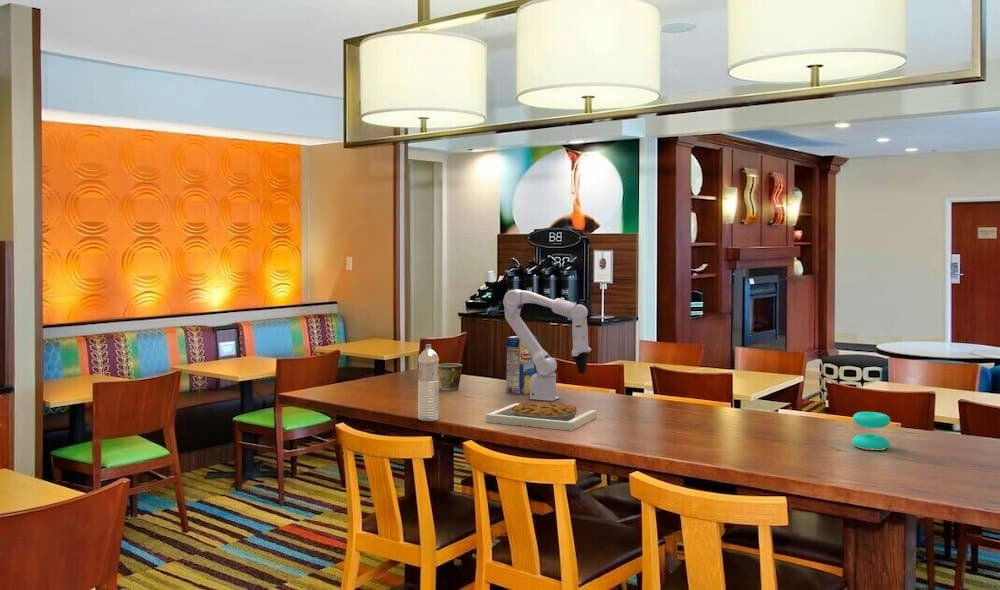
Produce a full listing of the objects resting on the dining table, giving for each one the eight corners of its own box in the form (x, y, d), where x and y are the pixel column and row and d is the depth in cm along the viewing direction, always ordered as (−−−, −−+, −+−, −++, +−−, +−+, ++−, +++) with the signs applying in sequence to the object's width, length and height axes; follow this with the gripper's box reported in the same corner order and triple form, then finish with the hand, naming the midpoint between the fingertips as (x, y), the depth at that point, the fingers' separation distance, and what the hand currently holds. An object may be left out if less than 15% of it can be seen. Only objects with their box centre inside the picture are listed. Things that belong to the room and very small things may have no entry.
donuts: (874, 410, 266) (898, 416, 256) (873, 443, 267) (897, 450, 257) (845, 411, 263) (868, 418, 254) (844, 445, 264) (867, 452, 254)
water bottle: (435, 421, 294) (435, 346, 293) (415, 420, 295) (415, 345, 294) (440, 418, 301) (441, 343, 299) (421, 417, 302) (421, 343, 301)
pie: (590, 419, 300) (590, 405, 300) (546, 429, 285) (546, 413, 285) (542, 411, 316) (542, 397, 316) (498, 419, 300) (498, 404, 300)
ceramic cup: (434, 388, 363) (435, 363, 363) (458, 387, 366) (458, 362, 366) (442, 393, 351) (442, 367, 351) (467, 392, 354) (467, 367, 354)
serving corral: (485, 422, 294) (485, 414, 294) (515, 410, 316) (515, 403, 316) (571, 430, 281) (571, 422, 281) (596, 417, 303) (596, 410, 303)
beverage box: (506, 392, 354) (506, 337, 352) (523, 389, 362) (524, 335, 361) (519, 394, 349) (519, 338, 348) (537, 391, 357) (537, 336, 356)
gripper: (583, 338, 326) (585, 376, 327) (596, 335, 339) (598, 370, 340) (565, 339, 329) (567, 375, 330) (579, 335, 342) (580, 370, 343)
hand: (582, 373), depth 335 cm, fingers closed
